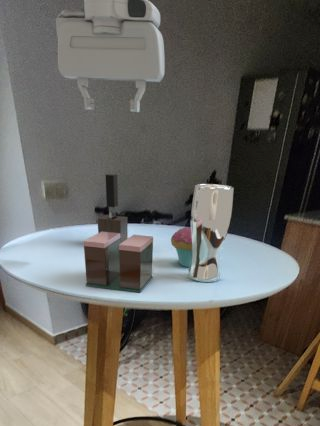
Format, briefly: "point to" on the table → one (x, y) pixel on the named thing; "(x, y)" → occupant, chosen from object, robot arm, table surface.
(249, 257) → the table surface
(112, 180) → the knife
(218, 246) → the beer glass
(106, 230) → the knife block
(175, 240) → the cupcake
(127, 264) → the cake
